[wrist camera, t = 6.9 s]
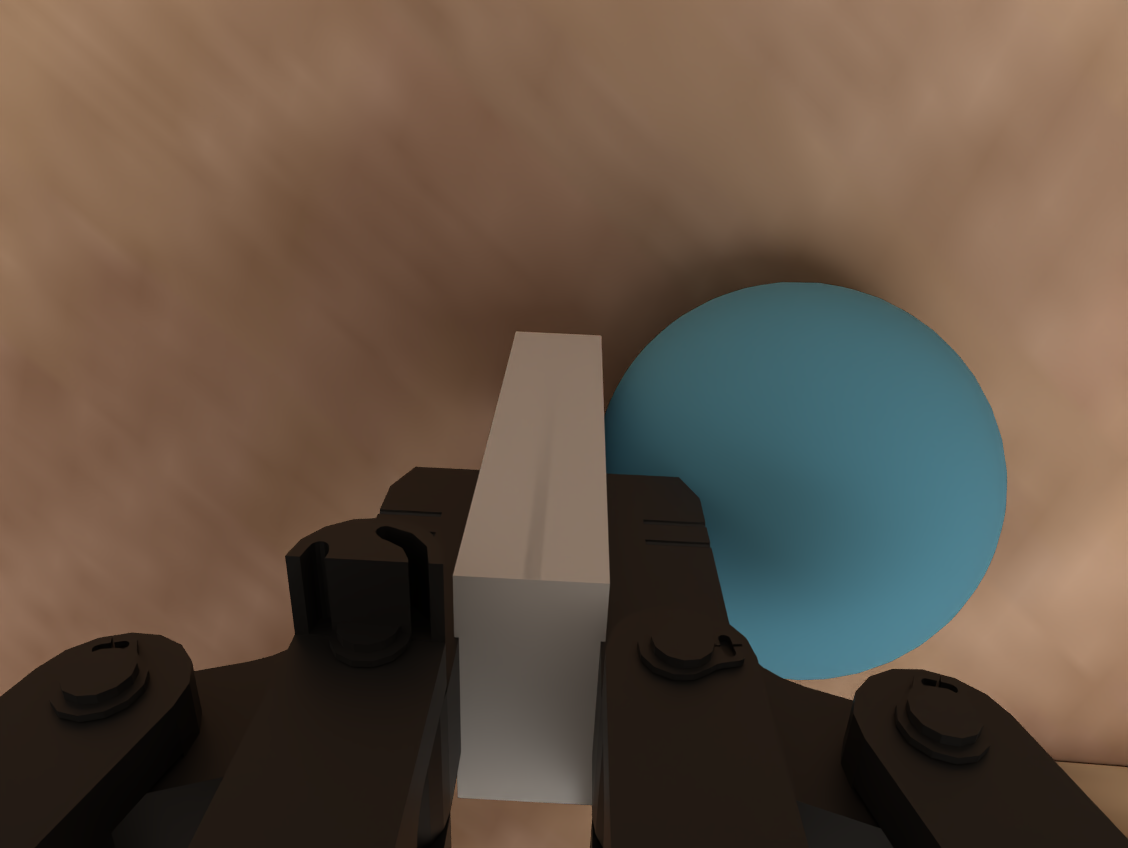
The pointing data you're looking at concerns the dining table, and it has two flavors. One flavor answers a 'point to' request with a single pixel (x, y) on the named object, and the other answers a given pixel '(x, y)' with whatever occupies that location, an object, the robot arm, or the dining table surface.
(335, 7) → the dining table surface
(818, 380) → the ball
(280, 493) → the dining table surface
